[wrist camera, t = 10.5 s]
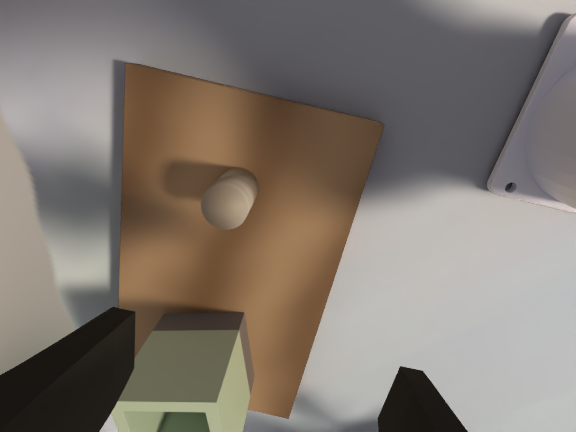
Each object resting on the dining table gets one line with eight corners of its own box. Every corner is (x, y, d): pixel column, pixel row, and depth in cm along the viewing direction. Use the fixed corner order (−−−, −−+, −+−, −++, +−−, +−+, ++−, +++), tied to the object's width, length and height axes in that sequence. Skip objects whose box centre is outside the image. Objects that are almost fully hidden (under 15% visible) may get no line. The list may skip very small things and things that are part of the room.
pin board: (379, 122, 16) (398, 135, 13) (289, 403, 24) (284, 465, 20) (138, 63, 16) (82, 59, 12) (125, 365, 24) (88, 420, 20)
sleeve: (244, 312, 20) (216, 402, 14) (254, 375, 22) (233, 477, 16) (163, 313, 20) (106, 401, 15) (180, 375, 22) (134, 473, 17)
